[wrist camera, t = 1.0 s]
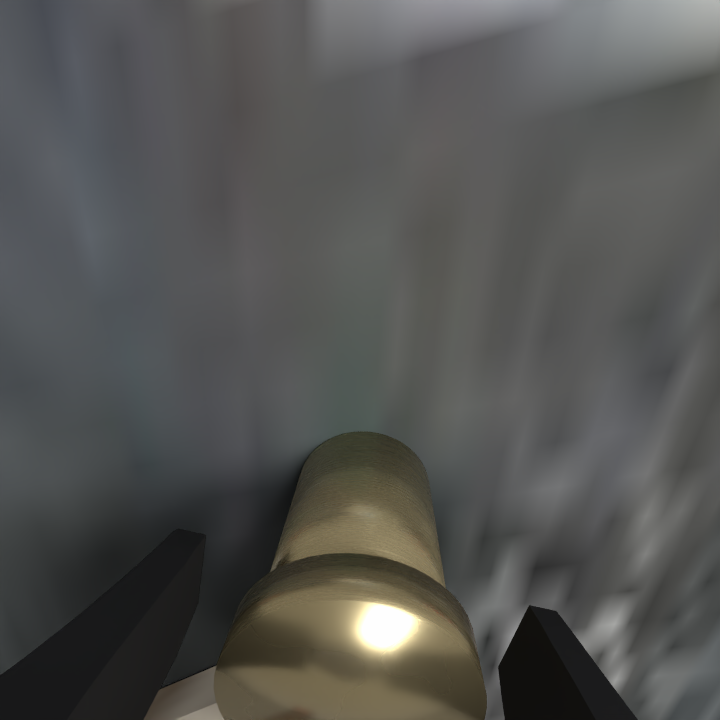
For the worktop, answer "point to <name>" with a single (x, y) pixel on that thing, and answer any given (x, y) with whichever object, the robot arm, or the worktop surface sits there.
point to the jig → (187, 700)
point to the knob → (353, 602)
